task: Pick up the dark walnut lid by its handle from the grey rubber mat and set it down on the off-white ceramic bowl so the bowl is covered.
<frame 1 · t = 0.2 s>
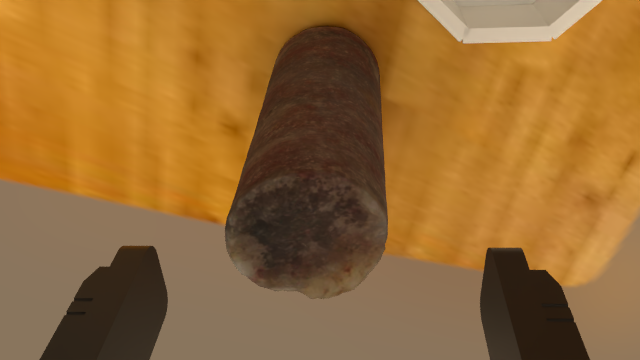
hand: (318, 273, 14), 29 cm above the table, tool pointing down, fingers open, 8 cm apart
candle: (328, 68, 42), on the table
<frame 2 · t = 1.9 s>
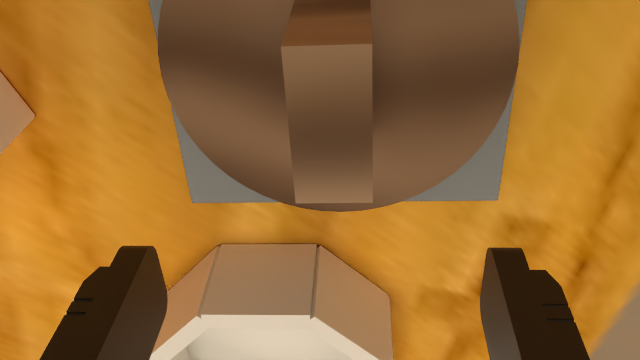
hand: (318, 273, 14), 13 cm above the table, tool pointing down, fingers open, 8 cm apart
bowl: (279, 327, 35), on the table
lid: (336, 57, 25), resting on mat
mat: (336, 54, 25), on the table
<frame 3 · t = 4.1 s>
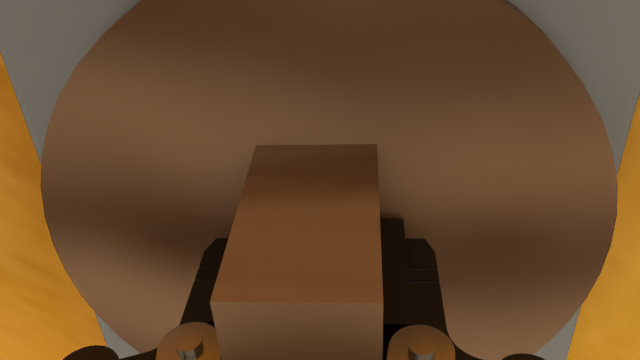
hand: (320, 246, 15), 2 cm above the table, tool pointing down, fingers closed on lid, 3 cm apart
lid: (324, 216, 16), resting on mat, touching gripper
mat: (324, 208, 17), on the table
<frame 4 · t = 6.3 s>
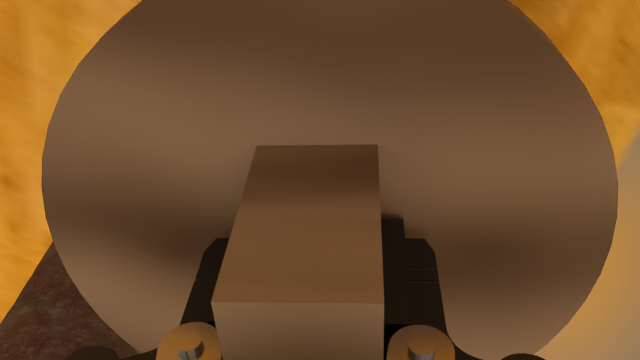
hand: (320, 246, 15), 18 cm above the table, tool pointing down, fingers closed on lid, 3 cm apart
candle: (154, 194, 38), on the table
lid: (325, 217, 16), point 17 cm above the table, touching gripper
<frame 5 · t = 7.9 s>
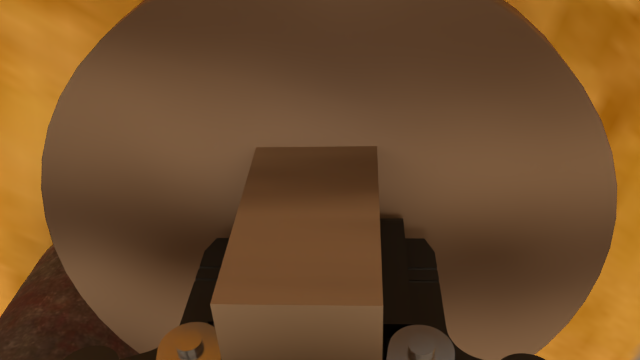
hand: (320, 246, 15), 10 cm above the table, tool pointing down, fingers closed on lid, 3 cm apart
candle: (122, 272, 30), on the table
lid: (324, 218, 16), point 8 cm above the table, touching gripper
when the fingers open (8 cm above the table, at t = 8.9 s): lid drops 1 cm, resting on bowl.
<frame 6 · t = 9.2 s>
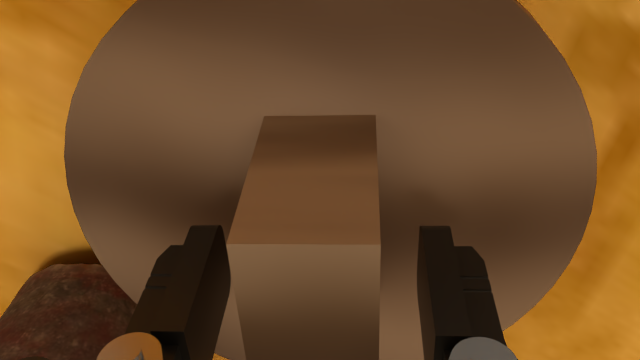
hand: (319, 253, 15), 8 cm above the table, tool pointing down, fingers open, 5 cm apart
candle: (109, 299, 28), on the table
lid: (326, 187, 18), point 5 cm above the table, touching bowl
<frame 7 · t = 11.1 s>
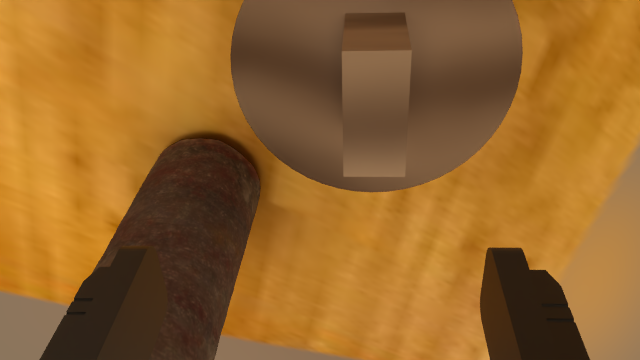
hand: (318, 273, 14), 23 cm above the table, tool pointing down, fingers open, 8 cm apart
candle: (211, 173, 41), on the table
lid: (373, 63, 31), point 5 cm above the table, touching bowl
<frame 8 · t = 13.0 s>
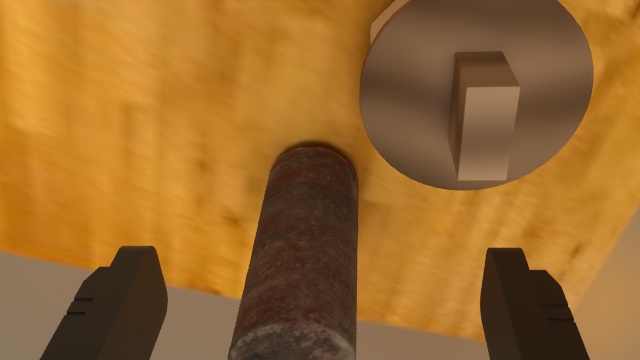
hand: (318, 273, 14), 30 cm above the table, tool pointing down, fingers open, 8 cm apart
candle: (315, 174, 49), on the table
bowl: (460, 59, 43), on the table
lid: (470, 88, 39), point 5 cm above the table, touching bowl
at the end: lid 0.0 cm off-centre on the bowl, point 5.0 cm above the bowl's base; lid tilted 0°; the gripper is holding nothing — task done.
